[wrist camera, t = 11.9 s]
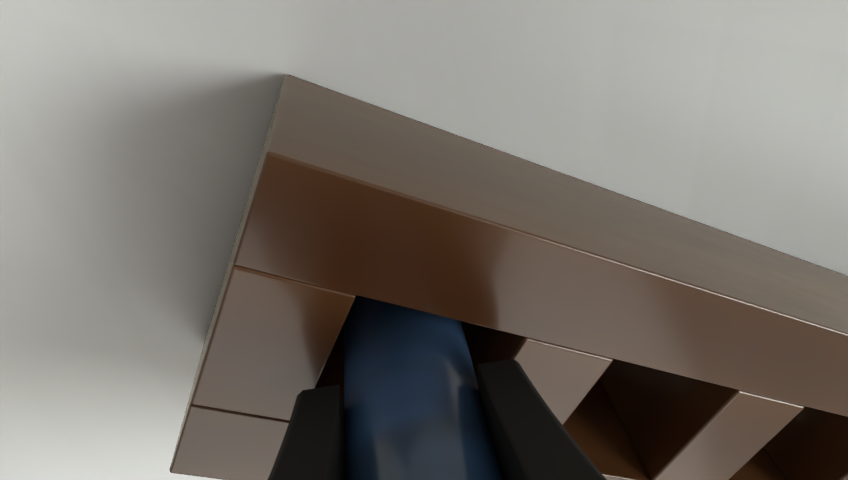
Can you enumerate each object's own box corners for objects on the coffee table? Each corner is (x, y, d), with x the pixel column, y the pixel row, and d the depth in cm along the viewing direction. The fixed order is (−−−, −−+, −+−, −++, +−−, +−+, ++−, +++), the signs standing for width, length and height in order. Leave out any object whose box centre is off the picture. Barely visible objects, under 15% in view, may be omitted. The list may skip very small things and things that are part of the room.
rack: (285, 72, 11) (266, 151, 8) (902, 295, 16) (1024, 389, 13) (203, 346, 14) (168, 473, 11) (737, 453, 20) (807, 557, 17)
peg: (451, 253, 12) (596, 758, 5) (456, 339, 13) (577, 826, 6) (334, 269, 12) (328, 808, 5) (352, 353, 13) (366, 869, 6)
